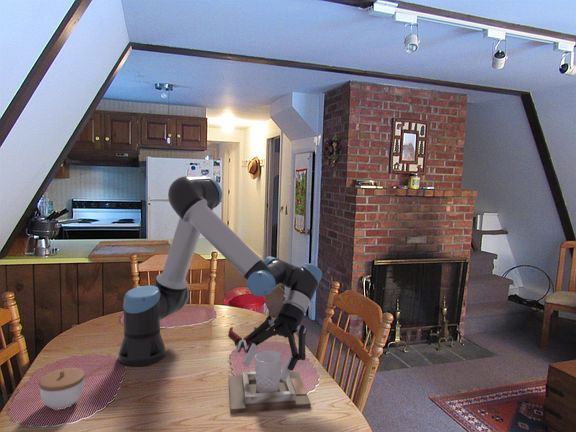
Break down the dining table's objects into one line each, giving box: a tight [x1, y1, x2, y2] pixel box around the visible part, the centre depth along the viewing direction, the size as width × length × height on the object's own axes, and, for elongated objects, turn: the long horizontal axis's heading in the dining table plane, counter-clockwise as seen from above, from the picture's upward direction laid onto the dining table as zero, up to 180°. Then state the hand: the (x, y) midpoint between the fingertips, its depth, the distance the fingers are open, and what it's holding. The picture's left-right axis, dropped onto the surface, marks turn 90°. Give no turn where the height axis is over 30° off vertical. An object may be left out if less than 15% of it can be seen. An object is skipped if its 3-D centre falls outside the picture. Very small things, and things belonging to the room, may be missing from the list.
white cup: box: [254, 350, 283, 393], centre depth 118 cm, size 8×8×10 cm
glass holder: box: [228, 369, 312, 414], centre depth 118 cm, size 22×18×3 cm
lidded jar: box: [38, 367, 85, 409], centre depth 109 cm, size 11×11×9 cm
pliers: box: [228, 326, 258, 352], centre depth 154 cm, size 12×20×3 cm, turn 5°
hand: (262, 372), depth 116 cm, fingers open, 13 cm apart
